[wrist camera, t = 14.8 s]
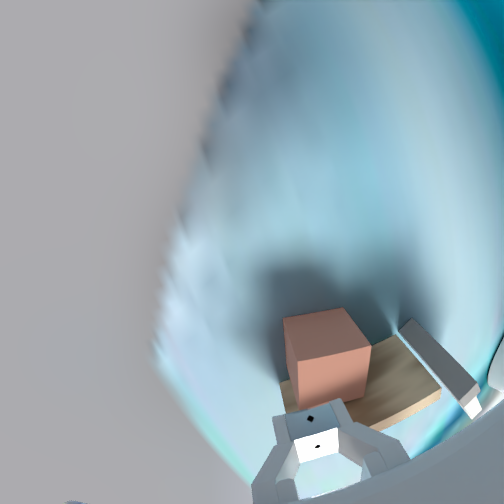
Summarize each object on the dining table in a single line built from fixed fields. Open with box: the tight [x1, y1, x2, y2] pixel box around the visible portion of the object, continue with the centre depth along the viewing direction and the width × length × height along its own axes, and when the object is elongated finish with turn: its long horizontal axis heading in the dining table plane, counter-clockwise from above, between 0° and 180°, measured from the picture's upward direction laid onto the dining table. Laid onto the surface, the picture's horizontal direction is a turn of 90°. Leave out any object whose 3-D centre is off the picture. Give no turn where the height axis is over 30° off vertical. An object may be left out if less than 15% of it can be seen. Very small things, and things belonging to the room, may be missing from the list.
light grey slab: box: [398, 318, 482, 419], centre depth 17 cm, size 2×8×9 cm, turn 44°
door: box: [279, 334, 442, 432], centre depth 17 cm, size 10×2×7 cm, turn 110°
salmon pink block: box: [283, 307, 371, 410], centre depth 18 cm, size 4×4×5 cm
